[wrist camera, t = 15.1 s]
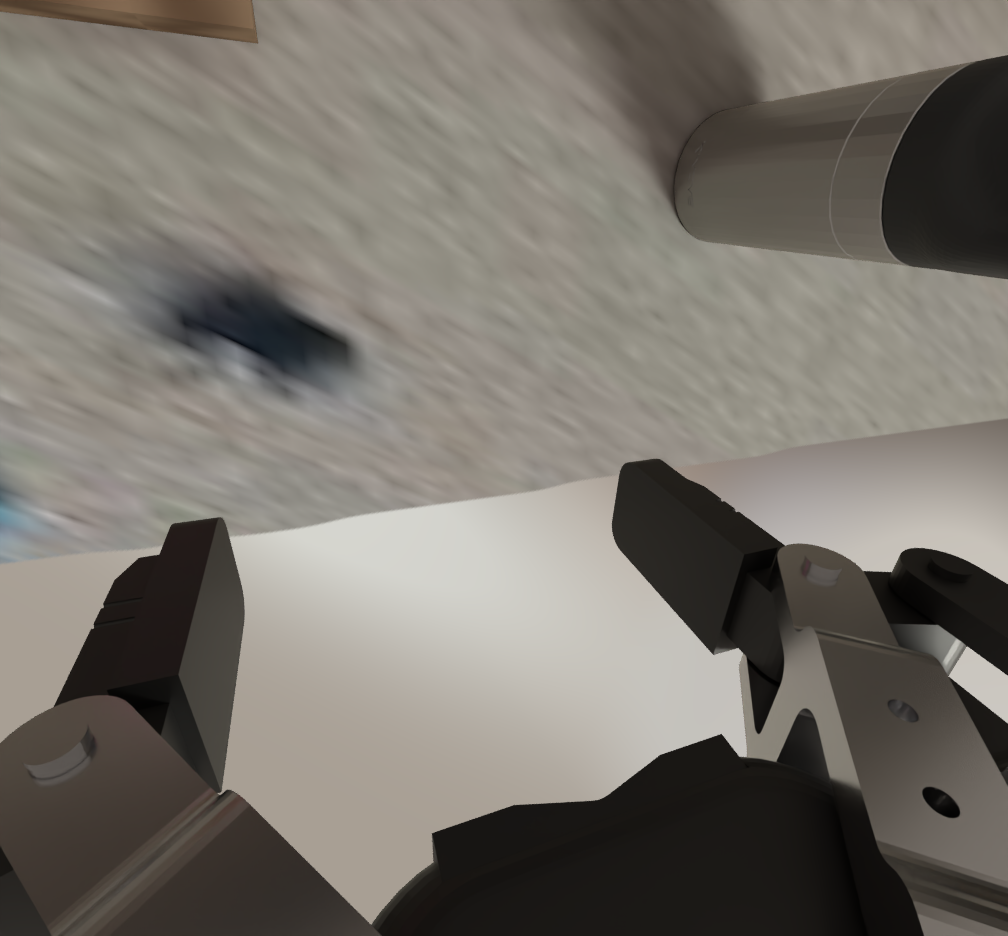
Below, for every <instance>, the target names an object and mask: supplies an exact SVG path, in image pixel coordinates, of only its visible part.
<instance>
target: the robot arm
mask: <svg viewBox="0 0 1008 936" xmlns="http://www.w3.org/2000/svg"><path fill="white" fill-rule="evenodd" d="M674 195H675V205H676V209H677V213H678V216H679V218H680V220H681V222H682V224H683V226H684V227H685V228H686V230H687V231H688V232H689V233H690V234H691V235H693V236H694V237H696V238H697V239H699V240H703V241H706V242H712V243H721V244H729V245H737V246H744V247H752V248H761V249H769V250H777V251H786V252H794V253H803V254H811V255H819V256H828V257H836V258H844V259H853V260H861V261H872V262H880V263H889V264H897V265H905V266H913V267H920V268H930V269H938V270H945V271H951V272H957V273H964V274H972V275H979V276H987V277H995V278H1002V279H1008V55H1006V56H1001V57H996V58H991V59H986V60H981V61H975V62H970V63H965V64H960V65H954V66H949V67H944V68H939V69H934V70H928V71H923V72H918V73H915V74H910V75H904V76H899V77H894V78H889V79H884V80H878V81H873V82H868V83H863V84H858V85H852V86H847V87H842V88H837V89H832V90H826V91H821V92H816V93H811V94H806V95H800V96H795V97H790V98H785V99H780V100H774V101H768V102H763V103H758V104H753V105H748V106H743V107H738V108H733V109H728V110H723V111H721V112H719V113H716V114H714V115H712V116H711V117H710V118H708V119H707V120H706V121H705V122H703V123H702V124H701V125H700V126H699V127H698V129H697V130H696V131H695V132H694V133H693V134H692V136H691V138H690V139H689V141H688V143H687V144H686V146H685V148H684V150H683V153H682V155H681V157H680V160H679V163H678V167H677V171H676V175H675V186H674ZM612 532H613V536H614V539H615V542H616V544H617V546H618V548H619V549H620V550H621V551H622V553H623V554H624V555H625V556H626V557H627V558H628V559H629V561H630V562H631V563H632V564H633V565H634V566H635V567H636V568H637V569H638V571H639V572H640V573H641V574H642V575H643V576H644V577H645V579H646V580H647V581H648V582H649V583H650V584H651V585H652V586H653V588H654V589H655V590H656V591H657V592H658V593H659V594H660V595H661V596H662V598H663V599H664V600H665V601H666V602H667V603H668V604H669V605H670V607H671V608H672V609H673V610H674V611H675V612H676V613H677V614H678V616H679V617H680V618H681V619H682V620H683V621H684V622H685V623H686V625H687V626H688V627H689V628H690V629H691V630H692V631H693V632H694V634H695V635H696V636H697V637H698V638H699V639H700V640H701V641H702V643H703V644H704V645H705V646H706V647H707V648H708V649H709V650H710V652H711V653H712V654H713V655H715V654H718V653H722V652H725V651H729V650H732V649H736V648H739V649H740V650H741V651H742V652H743V656H742V659H741V661H740V665H739V672H740V682H741V692H742V702H743V713H744V722H745V733H746V743H747V757H739V756H738V755H737V753H736V752H735V751H734V750H733V748H732V747H731V746H730V744H729V743H728V742H727V740H726V739H725V738H724V736H723V735H722V734H720V735H717V736H714V737H712V738H709V739H706V740H703V741H700V742H697V743H694V744H691V745H688V746H685V747H683V748H679V749H676V750H674V751H671V752H668V753H665V754H662V755H660V756H658V757H657V758H656V759H655V760H653V761H652V762H651V763H649V764H648V765H647V766H646V767H644V768H643V769H642V770H640V771H639V772H638V773H636V774H635V775H634V776H632V777H631V778H630V779H628V780H627V781H626V782H625V783H623V784H622V785H621V786H619V787H618V788H617V789H615V790H614V791H613V792H612V793H611V794H609V795H608V796H606V797H604V798H602V799H600V800H595V801H584V802H565V803H547V804H529V805H513V806H510V807H508V808H505V809H502V810H499V811H496V812H493V813H490V814H487V815H484V816H481V817H478V818H475V819H472V820H469V821H467V822H464V823H461V824H458V825H455V826H452V827H449V828H446V829H443V830H440V831H437V832H435V833H432V842H433V861H434V863H432V864H431V865H430V866H428V867H427V868H425V869H424V870H423V871H421V872H420V873H419V874H417V875H416V876H415V877H414V878H413V879H412V880H411V881H409V882H408V883H407V884H406V885H405V886H404V887H403V888H402V889H401V890H400V891H399V892H398V893H397V894H396V895H395V896H394V897H393V899H392V900H391V901H390V902H389V903H388V904H387V906H385V908H384V909H383V910H382V911H381V912H380V913H379V915H378V916H377V918H376V919H375V920H374V922H373V923H372V925H371V924H369V922H367V920H366V919H365V918H364V917H362V916H361V915H360V914H359V913H358V912H357V911H356V910H355V909H354V908H353V907H352V906H351V905H350V904H349V903H348V902H347V901H346V900H345V899H344V898H343V897H342V896H341V895H340V894H339V893H338V892H337V891H336V890H335V889H334V888H333V887H332V886H331V885H330V884H329V883H328V882H327V881H326V880H325V879H324V878H323V877H322V876H321V875H320V874H319V873H318V872H317V871H316V870H315V869H314V868H313V867H312V866H311V865H310V864H309V863H308V862H307V861H306V860H305V859H304V858H303V857H302V856H301V855H300V854H299V853H298V852H297V851H296V850H295V849H294V848H293V847H292V846H291V845H290V844H289V843H288V842H287V841H286V840H285V839H284V838H283V837H282V836H281V835H280V834H279V833H278V832H277V831H276V830H275V829H274V828H273V827H272V826H271V825H270V824H269V823H268V822H267V821H266V820H265V819H264V818H263V817H262V816H261V815H260V814H259V813H258V812H257V811H256V810H255V809H254V808H253V807H252V806H251V805H250V804H249V803H248V802H246V800H245V799H243V798H242V797H241V796H240V795H238V794H237V793H235V792H234V791H231V790H226V791H225V792H224V793H223V794H222V795H219V794H217V793H220V792H221V791H222V783H223V776H224V768H225V760H226V753H227V746H228V738H229V731H230V724H231V716H232V709H233V701H234V694H235V686H236V679H237V671H238V664H239V656H240V648H241V641H242V634H243V626H244V597H243V590H242V585H241V581H240V578H239V574H238V570H237V566H236V562H235V558H234V554H233V550H232V547H231V543H230V539H229V535H228V531H227V527H226V524H225V522H224V520H223V519H222V518H221V517H218V518H211V519H204V520H196V521H189V522H182V523H174V524H172V525H171V527H170V529H169V532H168V534H167V537H166V539H165V542H164V544H163V547H162V550H161V552H160V555H155V556H148V557H142V558H138V560H136V561H135V562H134V563H133V564H132V565H131V566H130V567H129V568H127V569H126V570H125V571H124V572H123V573H122V574H121V575H120V576H119V577H118V578H116V579H115V580H114V583H113V585H112V587H111V589H110V591H109V593H108V595H107V597H106V599H105V601H104V603H103V604H104V608H102V609H101V610H100V612H99V614H98V616H97V618H96V620H95V622H94V629H91V631H90V632H89V635H88V637H87V639H86V641H85V643H84V645H83V647H82V649H81V651H80V654H79V655H78V658H77V659H76V662H75V664H74V666H73V668H72V670H71V672H70V674H69V676H68V678H67V680H66V683H65V685H64V687H63V689H62V691H61V693H60V695H59V697H58V699H57V701H56V703H55V705H54V707H53V708H51V709H49V710H47V711H45V712H43V713H41V714H39V715H37V716H35V717H34V718H32V719H31V720H29V721H28V722H26V723H25V724H23V725H22V726H20V727H19V728H18V729H16V730H15V731H14V732H12V733H11V734H10V735H9V736H8V737H7V738H5V740H3V741H2V742H1V743H0V936H1008V723H1006V722H1005V721H1004V720H1002V719H1001V718H1000V717H999V716H997V715H996V714H995V713H994V712H992V711H991V710H990V709H988V708H987V707H986V706H985V705H984V704H982V703H981V702H980V701H979V700H977V699H976V698H975V697H974V696H972V695H971V694H970V693H969V692H967V691H966V690H965V689H964V688H962V687H961V686H960V685H958V684H957V683H956V682H955V681H953V680H952V679H951V678H950V677H948V676H949V674H950V673H951V671H952V669H953V668H954V666H955V665H956V663H957V661H958V660H959V658H960V656H961V655H962V653H963V652H964V650H965V648H966V647H967V646H968V647H969V648H971V649H972V650H973V651H975V652H976V653H977V654H979V655H980V656H982V657H983V658H984V659H986V660H987V661H989V662H990V663H991V664H993V665H994V666H995V667H997V668H998V669H1000V670H1001V671H1002V672H1004V673H1005V674H1006V675H1008V584H1006V583H1005V582H1003V581H1001V580H1000V579H998V578H996V577H994V576H993V575H991V574H989V573H988V572H986V571H984V570H983V569H981V568H979V567H977V566H976V565H974V564H972V563H970V562H968V561H966V560H964V559H961V558H959V557H956V556H954V555H951V554H947V553H944V552H940V551H937V550H932V549H925V548H911V549H907V550H905V551H903V552H902V553H901V555H900V556H899V559H898V561H897V563H896V565H895V567H894V569H893V571H892V572H872V571H871V572H870V571H862V570H861V568H860V567H859V566H857V565H856V564H855V563H854V562H852V561H851V560H849V559H848V558H846V557H844V556H843V555H840V554H838V553H836V552H834V551H831V550H829V549H826V548H822V547H819V546H815V545H809V544H791V545H787V546H785V545H783V544H782V543H781V542H779V541H778V540H777V539H775V538H774V537H773V536H771V535H770V534H768V533H767V532H766V531H764V530H763V529H762V528H760V527H759V526H758V525H756V524H755V523H753V522H752V521H751V520H749V519H748V518H747V517H745V516H744V515H743V514H741V513H740V512H735V509H734V508H733V507H732V506H730V505H729V504H728V503H726V502H724V501H723V502H722V501H721V498H719V497H718V496H717V495H715V494H714V493H712V492H711V491H710V490H708V489H707V488H706V487H704V486H702V485H700V484H697V483H695V482H693V481H690V480H688V479H686V478H685V477H683V476H682V475H681V474H679V473H678V472H677V471H675V470H674V469H673V468H671V467H670V466H669V465H667V464H666V463H665V462H663V461H662V460H660V459H650V460H643V461H635V462H628V463H626V464H624V465H623V466H622V468H621V471H620V475H619V481H618V487H617V494H616V500H615V507H614V513H613V520H612Z"/></svg>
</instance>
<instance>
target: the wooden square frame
mask: <svg viewBox="0 0 1008 936" xmlns="http://www.w3.org/2000/svg"><path fill="white" fill-rule="evenodd" d="M0 11H1V12H9V13H17V14H25V15H33V16H41V17H49V18H58V19H66V20H74V21H82V22H90V23H98V24H106V25H114V26H122V27H130V28H138V29H146V30H154V31H163V32H171V33H179V34H187V35H195V36H203V37H211V38H219V39H227V40H235V41H243V42H251V43H258V39H257V32H256V25H255V19H254V12H253V5H252V0H0Z"/></svg>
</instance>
